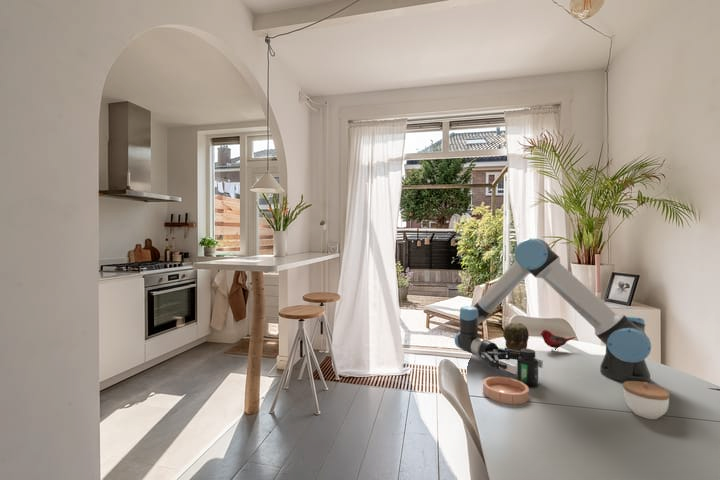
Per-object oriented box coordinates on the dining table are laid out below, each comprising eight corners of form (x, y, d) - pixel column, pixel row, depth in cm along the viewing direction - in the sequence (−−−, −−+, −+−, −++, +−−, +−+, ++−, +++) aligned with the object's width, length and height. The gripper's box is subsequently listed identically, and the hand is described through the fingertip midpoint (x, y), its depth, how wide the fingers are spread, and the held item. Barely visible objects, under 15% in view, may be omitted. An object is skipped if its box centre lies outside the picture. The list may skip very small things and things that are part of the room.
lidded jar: (679, 425, 96) (679, 392, 96) (635, 421, 98) (635, 388, 98) (654, 407, 106) (654, 377, 106) (615, 403, 108) (615, 374, 108)
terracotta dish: (536, 395, 114) (536, 386, 114) (515, 408, 105) (515, 398, 105) (496, 381, 125) (496, 373, 125) (475, 392, 116) (475, 383, 116)
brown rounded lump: (529, 347, 165) (530, 322, 165) (527, 353, 155) (527, 327, 155) (505, 343, 170) (505, 319, 170) (501, 349, 161) (501, 324, 161)
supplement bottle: (525, 388, 119) (525, 354, 119) (513, 380, 126) (513, 348, 126) (542, 387, 120) (542, 353, 120) (529, 379, 127) (529, 347, 127)
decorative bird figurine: (538, 350, 160) (538, 329, 160) (573, 349, 162) (573, 328, 162) (542, 352, 157) (542, 330, 157) (577, 351, 159) (577, 329, 159)
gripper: (507, 354, 147) (552, 372, 127) (461, 362, 137) (503, 383, 117) (507, 337, 147) (552, 351, 127) (461, 344, 137) (503, 361, 117)
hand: (529, 367), depth 122 cm, fingers open, 13 cm apart
